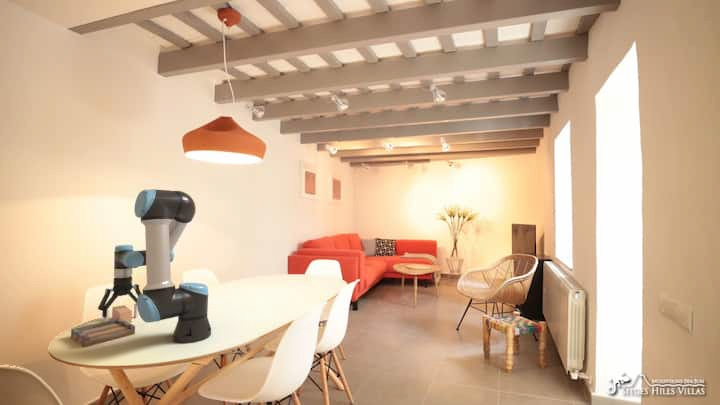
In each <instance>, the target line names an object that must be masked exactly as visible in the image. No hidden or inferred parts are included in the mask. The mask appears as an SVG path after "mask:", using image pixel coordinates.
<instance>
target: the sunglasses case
mask: <svg viewBox="0 0 720 405" xmlns="http://www.w3.org/2000/svg"><path fill="white" fill-rule="evenodd" d="M111 309H112V310H111V312H112V313H111V316H112V317H111V320H115V319H122V320H124V321H126V322H128V323H130V324H132V322H133V310H132V309H130V308H129V307H127V306H126V305H125V304H124V305H117V306H112V308H111Z"/></svg>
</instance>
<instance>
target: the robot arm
mask: <svg viewBox="0 0 720 405" xmlns="http://www.w3.org/2000/svg"><path fill="white" fill-rule="evenodd" d="M133 211H134V215H135V217H137V218H139V219H140V223H141V224H142V225H144V228H145V232H144V234H145V249H144V250H134V246H133V245H132V244H120V245H119V244H118V245H116V246H115V247H114V252H113V254H114V256H113V257H114V262H113V264H114V266H113V287H112V288H105V290H104V295H103V297H102V299H101V301H100V303H99V304H98V307H97V310H99V311H102V312H101V314H102V315H101V316H102V318H104V322H106V321H110V320H109V318H110V315H109V314H110V310H109V308H110V307H111V305H112V304H113V303H114V302H115V300H116V299H117V298H118V297H122V296H127V295H128V296H129V297H130V298H131V299H132V301H134V305H133V317H134V318H136V319H137V318H138V317H140V318H141V320H142V321H144V323H147V324H148V323H154V322H156V323H157V322H160V321H163V320H168V319H169V320H170V319H173V318H177V323H176V326H175V327H174V328H175V329H174V331H173V333H172V334H173V335H172V339H173V342H177V343H180V344H181V343H183V344H187V343H189V344H190V343H195V342H200V341H203V340H205V339H208V338H209V337H211V335H212V327H211V324H210V321H209V318H208V312H209V311H208V310H209V286H208V285H206V284H205V283H199V282H182V283H180V284H179V285H178V288H176V284H175V283H174V282H172V276H171V275H172V274H171V273H172V272H171V270H172V269H171V263H172V262H173V261H174V258H175V252H174V249H175V247H176V246H177V243H178V242H179V239H180V237H181V235H182V234H183V233H184V230H185V228H186V226H187V225H188V224H189V223H191V222H192V221H193V219H194V217H195V215H196V212H197V211H196V203H195V201H194V199H193V198H192V196H190V195H189V194H188V193H186V192H185V191H181V190H170V189H169V190H166V189H155V188H154V189H143V190H141V191H140V192H139V193H138V195H137V197H136V199H135V202H134V210H133ZM139 267H146V269H145V270H146V285H145V286H144V287H143V288H142V291H141V290H140V285H139V284H137V283H135V284H133V269H138V268H139ZM132 289H133V290H134V291H135V294H136V295H137V297H136V296H135V295H134V294H133V292H132ZM112 292H113V293H112ZM111 294H112V295H111ZM110 295H111V297H110ZM109 297H110V298H109Z"/></svg>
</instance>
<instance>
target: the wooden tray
mask: <svg viewBox="0 0 720 405" xmlns="http://www.w3.org/2000/svg"><path fill="white" fill-rule="evenodd" d="M70 331H71V332H70V339H72V340H73V341H75V342H76V343H78V344H79V345H80V346H82V347H83V348H88V347H92V346H94V345H99V344H103V343H105V342H110V341H114V340H117V339H121V338H122V339H123V338H125V337H130V336H133V335H135V333H136V325H134V324H132V323H128V322H126V321H124V320H122V319H115V320H113V319H111V320H109V321H106V322H103V321H102V322H98V323H94V324H90V325H85V326H81V327H77V328H76V327H75V328H71V330H70Z"/></svg>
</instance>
